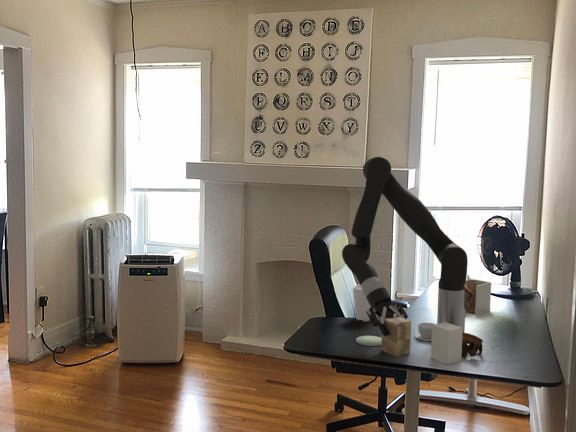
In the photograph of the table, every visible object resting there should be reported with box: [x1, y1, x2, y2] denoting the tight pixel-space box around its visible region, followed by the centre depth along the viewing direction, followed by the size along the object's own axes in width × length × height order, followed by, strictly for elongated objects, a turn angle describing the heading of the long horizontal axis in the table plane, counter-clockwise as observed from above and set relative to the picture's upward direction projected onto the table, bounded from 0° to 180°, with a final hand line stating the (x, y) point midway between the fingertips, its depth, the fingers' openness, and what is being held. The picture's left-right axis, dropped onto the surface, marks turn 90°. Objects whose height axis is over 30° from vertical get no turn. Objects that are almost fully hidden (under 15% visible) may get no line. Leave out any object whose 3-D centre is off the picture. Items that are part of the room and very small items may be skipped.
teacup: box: [413, 322, 436, 342], centre depth 225 cm, size 10×10×5 cm
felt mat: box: [355, 335, 382, 347], centre depth 220 cm, size 10×10×1 cm
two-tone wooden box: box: [464, 274, 492, 316], centre depth 264 cm, size 9×11×17 cm
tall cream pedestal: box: [430, 322, 463, 365], centre depth 201 cm, size 6×7×11 cm
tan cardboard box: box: [381, 315, 412, 357], centre depth 208 cm, size 6×7×11 cm
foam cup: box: [352, 284, 371, 322], centre depth 248 cm, size 10×9×13 cm
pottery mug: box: [461, 332, 484, 359], centre depth 206 cm, size 12×10×8 cm
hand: (397, 333), depth 208 cm, fingers open, 8 cm apart
